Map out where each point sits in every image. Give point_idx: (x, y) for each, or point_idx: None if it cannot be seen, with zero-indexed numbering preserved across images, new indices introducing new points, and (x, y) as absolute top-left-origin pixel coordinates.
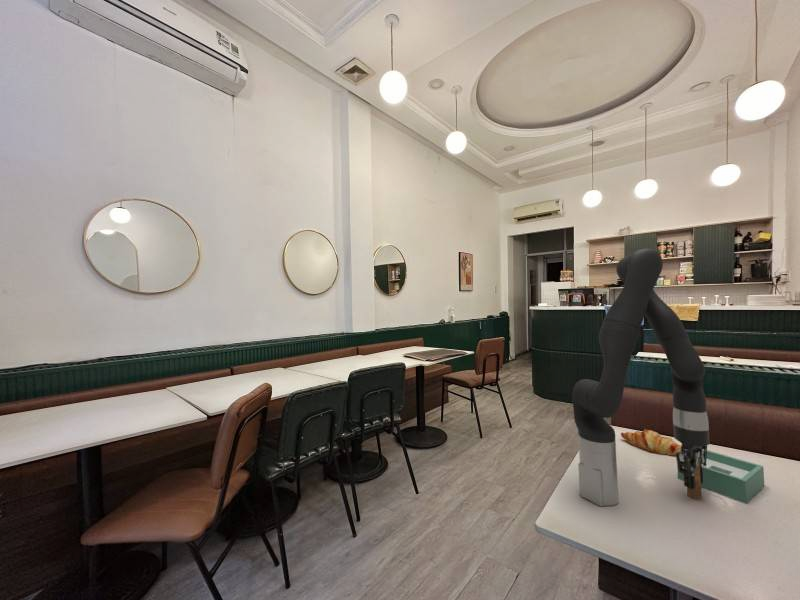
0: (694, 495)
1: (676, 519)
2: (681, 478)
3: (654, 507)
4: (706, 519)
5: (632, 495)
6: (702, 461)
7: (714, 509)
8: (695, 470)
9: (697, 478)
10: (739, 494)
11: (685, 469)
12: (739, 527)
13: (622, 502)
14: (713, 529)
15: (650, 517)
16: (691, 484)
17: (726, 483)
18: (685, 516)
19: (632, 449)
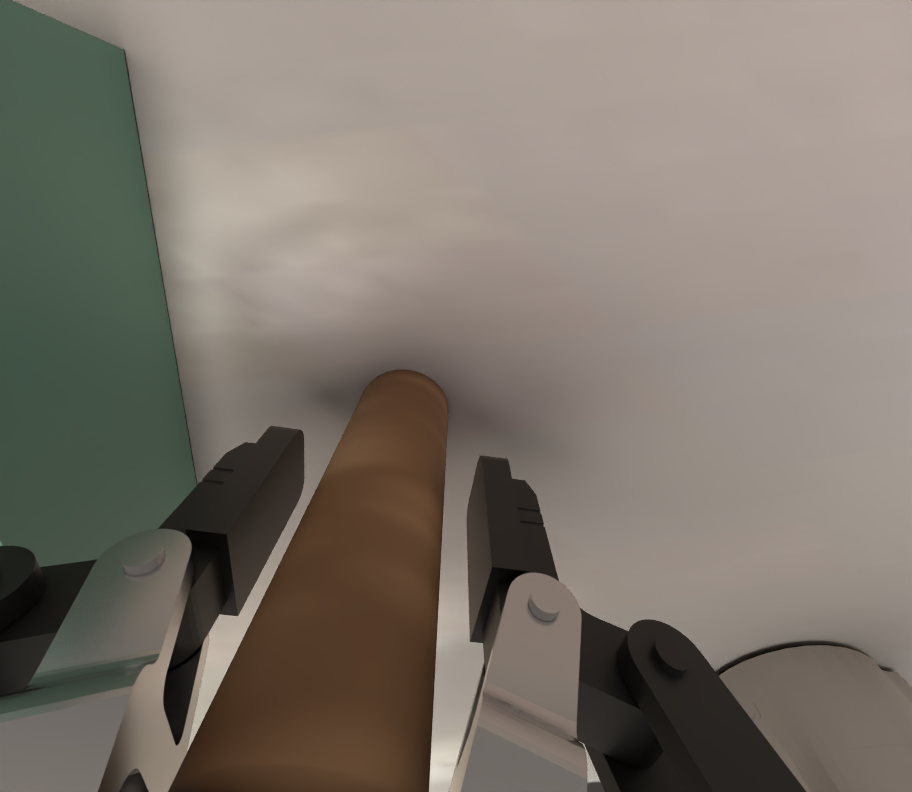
0: (445, 417)
1: (849, 434)
2: None
3: (752, 536)
4: (737, 296)
5: (671, 621)
6: (112, 763)
7: (514, 274)
8: (417, 623)
9: (420, 508)
10: (71, 101)
11: (603, 731)
12: (730, 56)
13: (787, 631)
14: (884, 234)
15: (896, 527)
16: (529, 504)
17: (26, 237)
18: (773, 404)
19: None
